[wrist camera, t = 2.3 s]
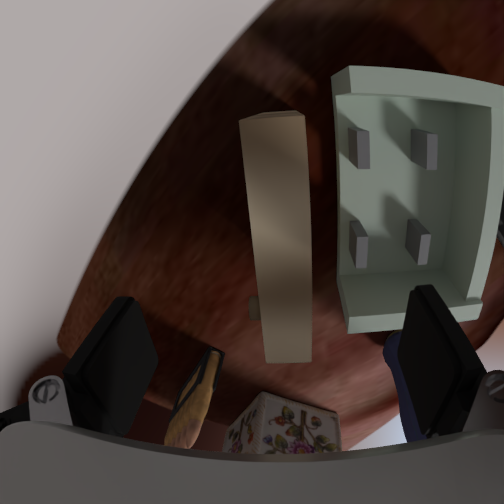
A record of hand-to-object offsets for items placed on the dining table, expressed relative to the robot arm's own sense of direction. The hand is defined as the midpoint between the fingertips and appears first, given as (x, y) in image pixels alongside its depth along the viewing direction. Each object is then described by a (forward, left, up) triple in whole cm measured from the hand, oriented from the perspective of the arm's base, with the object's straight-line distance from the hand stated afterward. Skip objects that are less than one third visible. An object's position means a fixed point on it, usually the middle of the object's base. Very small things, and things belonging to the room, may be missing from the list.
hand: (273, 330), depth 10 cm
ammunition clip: (+21, -11, -16) cm, 28 cm away
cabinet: (0, +10, -16) cm, 18 cm away
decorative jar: (+31, -2, -16) cm, 35 cm away
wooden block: (0, 0, -16) cm, 16 cm away
